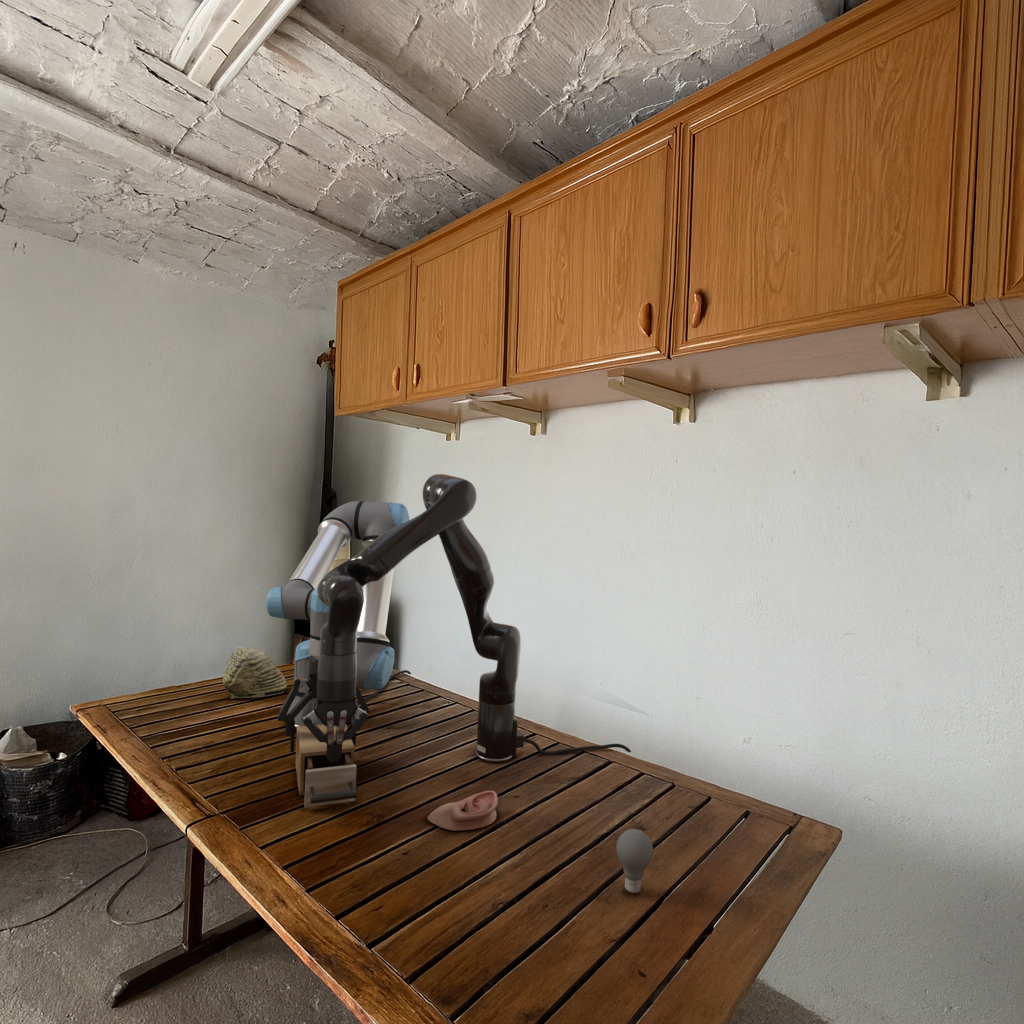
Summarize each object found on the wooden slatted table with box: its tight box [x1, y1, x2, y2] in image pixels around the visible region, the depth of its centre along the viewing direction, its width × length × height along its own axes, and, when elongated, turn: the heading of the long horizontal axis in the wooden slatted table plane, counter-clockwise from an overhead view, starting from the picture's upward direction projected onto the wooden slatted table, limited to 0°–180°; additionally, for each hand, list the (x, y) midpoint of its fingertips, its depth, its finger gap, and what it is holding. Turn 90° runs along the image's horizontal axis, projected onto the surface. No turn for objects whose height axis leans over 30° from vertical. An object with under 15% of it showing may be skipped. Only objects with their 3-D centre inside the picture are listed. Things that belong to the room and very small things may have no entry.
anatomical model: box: [427, 790, 499, 832], centre depth 127 cm, size 13×4×12 cm
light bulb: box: [615, 828, 654, 894], centre depth 106 cm, size 6×6×10 cm
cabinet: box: [295, 724, 356, 796], centre depth 143 cm, size 16×11×9 cm
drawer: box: [303, 752, 358, 809], centre depth 133 cm, size 21×10×7 cm, turn 22°
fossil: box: [222, 646, 288, 699], centre depth 198 cm, size 9×18×15 cm, turn 132°
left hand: (323, 746), depth 147 cm, fingers open, 13 cm apart
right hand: (333, 760), depth 126 cm, fingers closed
